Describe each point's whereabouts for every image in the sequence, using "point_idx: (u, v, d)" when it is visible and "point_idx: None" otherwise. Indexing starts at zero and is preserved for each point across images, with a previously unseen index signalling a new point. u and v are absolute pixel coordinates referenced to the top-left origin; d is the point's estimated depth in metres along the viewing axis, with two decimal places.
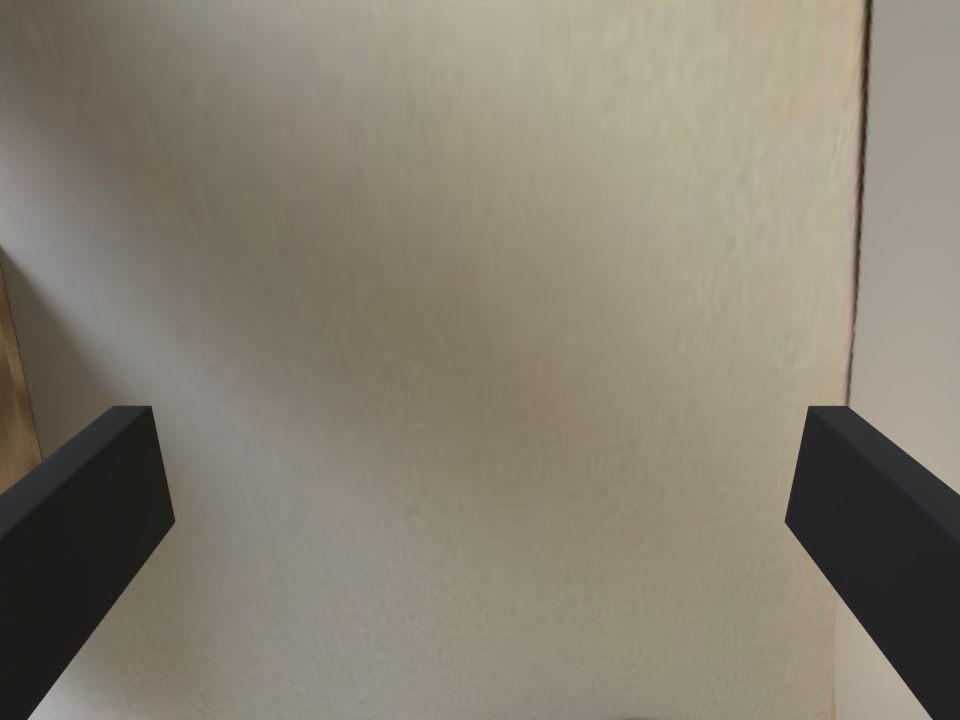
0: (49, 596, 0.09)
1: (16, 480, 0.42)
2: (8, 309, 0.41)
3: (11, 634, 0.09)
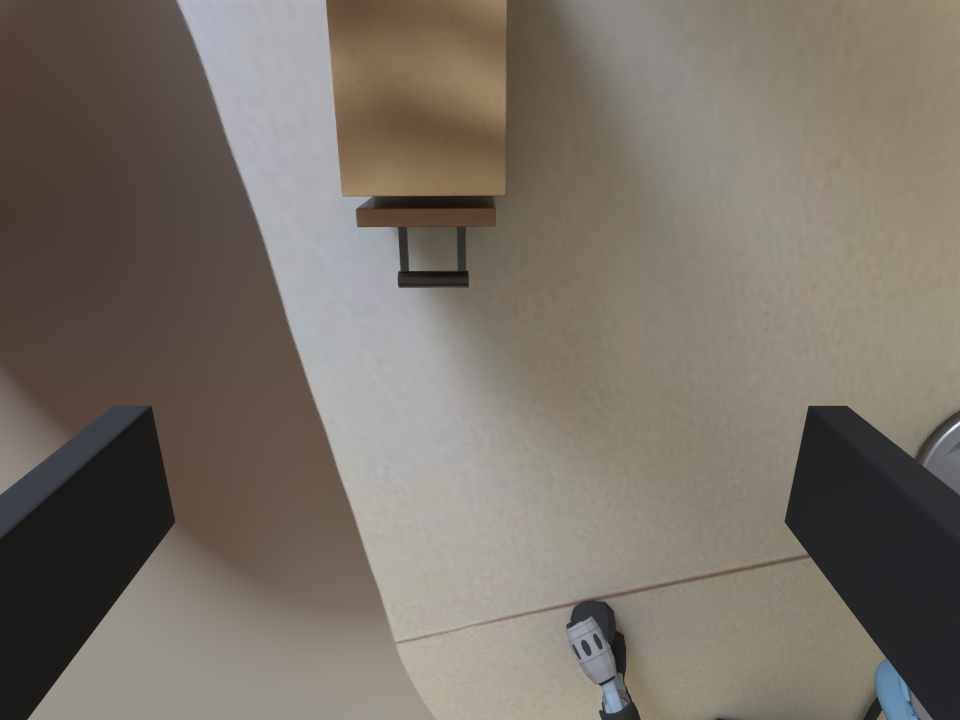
0: (49, 597, 0.09)
1: None
2: None
3: (11, 634, 0.09)
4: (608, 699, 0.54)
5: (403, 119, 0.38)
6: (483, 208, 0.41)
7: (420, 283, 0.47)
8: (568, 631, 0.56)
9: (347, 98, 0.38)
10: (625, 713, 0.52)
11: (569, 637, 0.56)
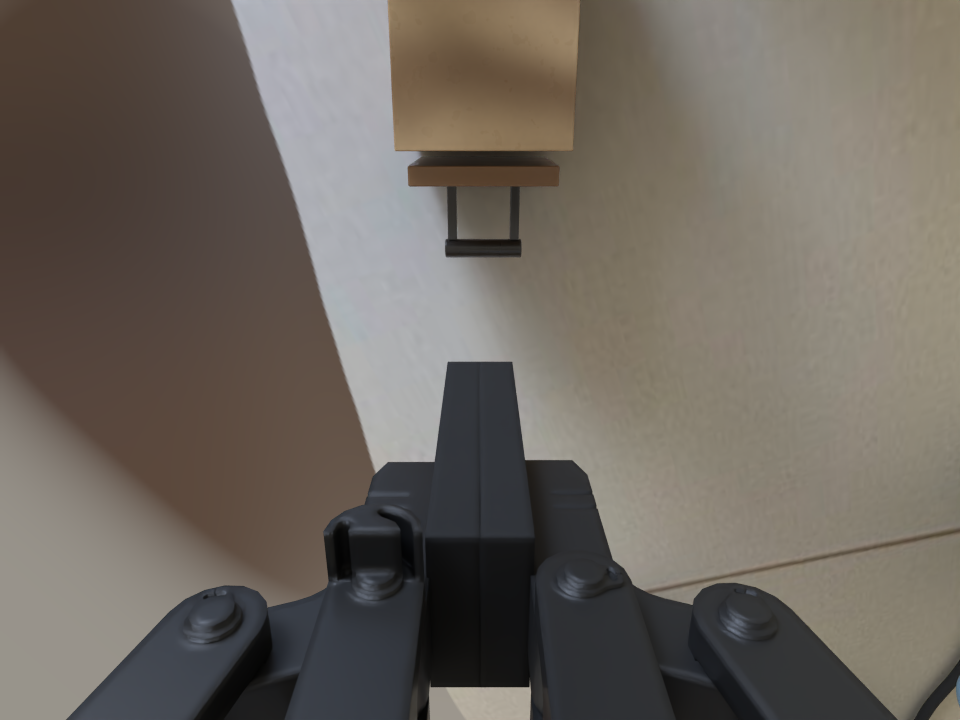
0: None
1: None
2: None
3: None
4: None
5: (464, 64, 0.35)
6: (546, 166, 0.38)
7: (469, 252, 0.44)
8: None
9: (404, 40, 0.35)
10: None
11: None
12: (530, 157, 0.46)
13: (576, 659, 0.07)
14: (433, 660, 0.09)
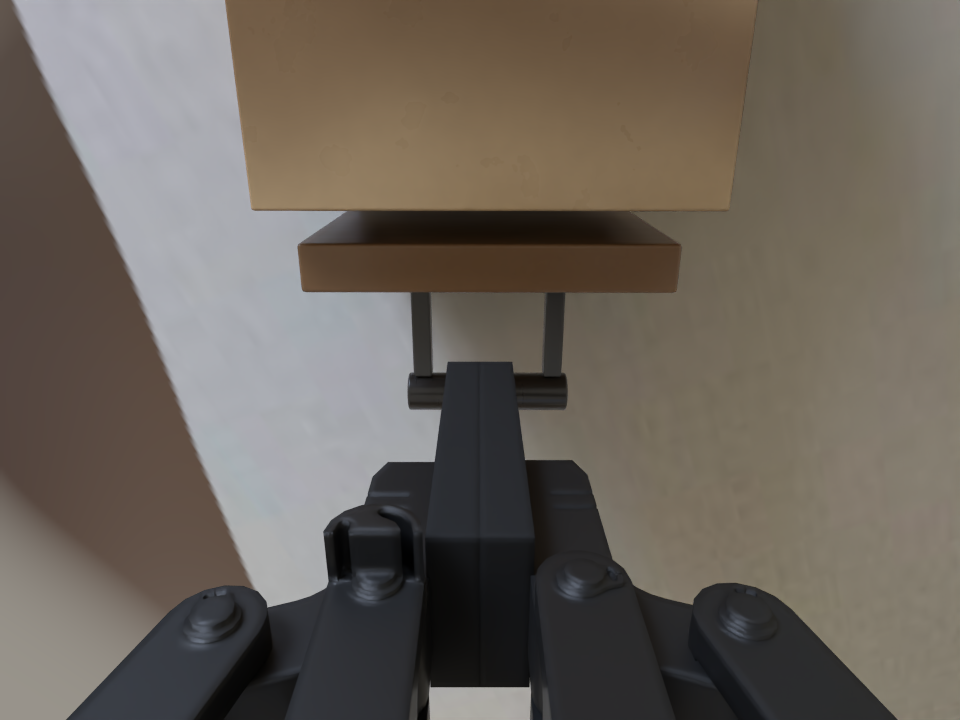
0: None
1: None
2: None
3: None
4: None
5: None
6: (647, 245, 0.15)
7: None
8: None
9: None
10: None
11: None
12: None
13: (576, 659, 0.07)
14: (433, 660, 0.09)
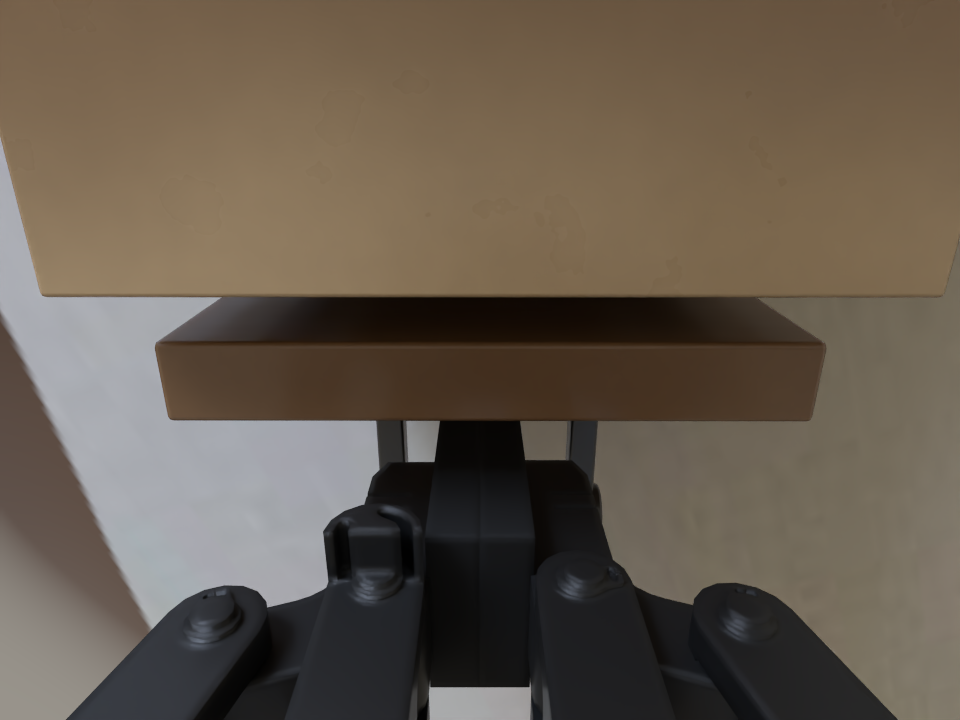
0: None
1: None
2: None
3: None
4: None
5: None
6: (766, 343, 0.09)
7: None
8: None
9: None
10: None
11: None
12: None
13: (576, 659, 0.07)
14: (433, 660, 0.09)
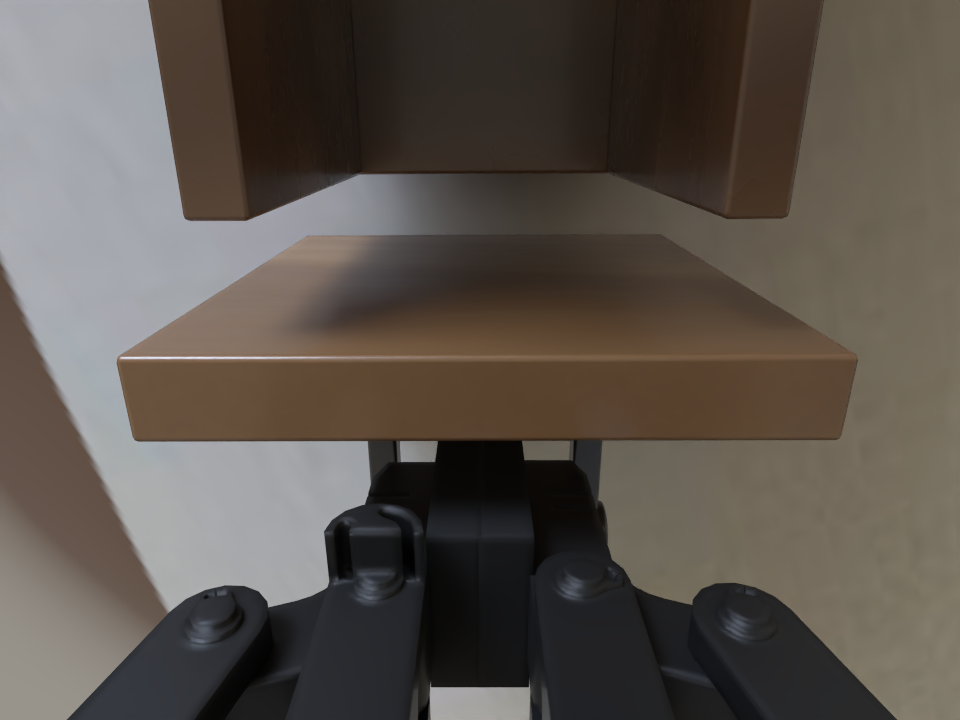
0: None
1: None
2: None
3: None
4: None
5: None
6: (790, 354, 0.08)
7: None
8: None
9: None
10: None
11: None
12: (623, 239, 0.15)
13: (575, 659, 0.07)
14: (433, 660, 0.09)
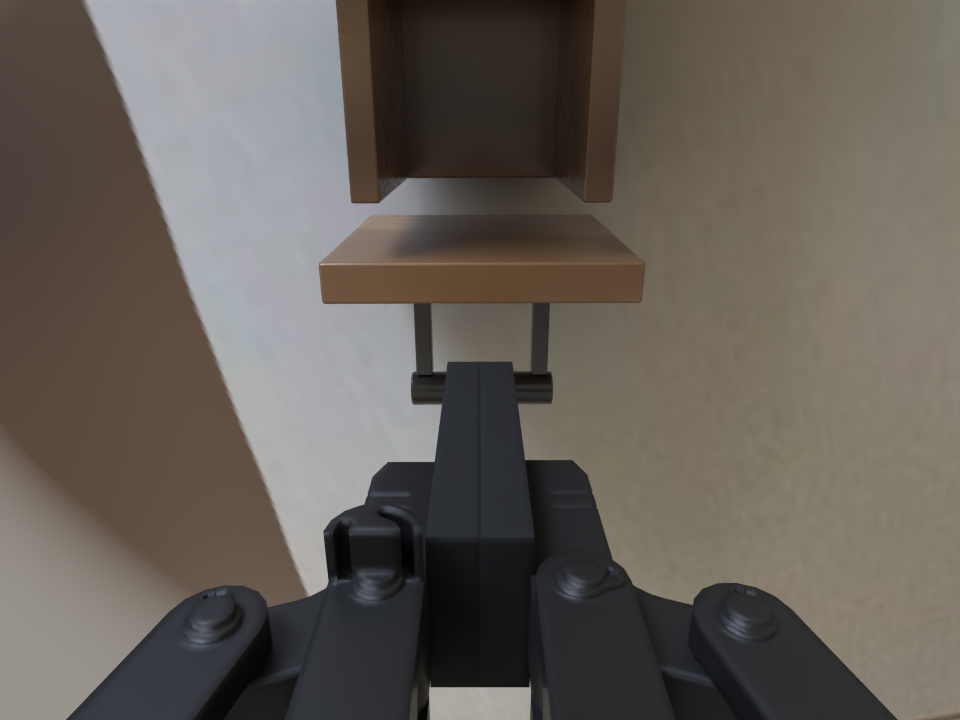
0: None
1: None
2: None
3: None
4: None
5: None
6: (616, 262, 0.18)
7: None
8: None
9: None
10: None
11: None
12: (566, 217, 0.25)
13: (576, 659, 0.07)
14: (433, 660, 0.09)
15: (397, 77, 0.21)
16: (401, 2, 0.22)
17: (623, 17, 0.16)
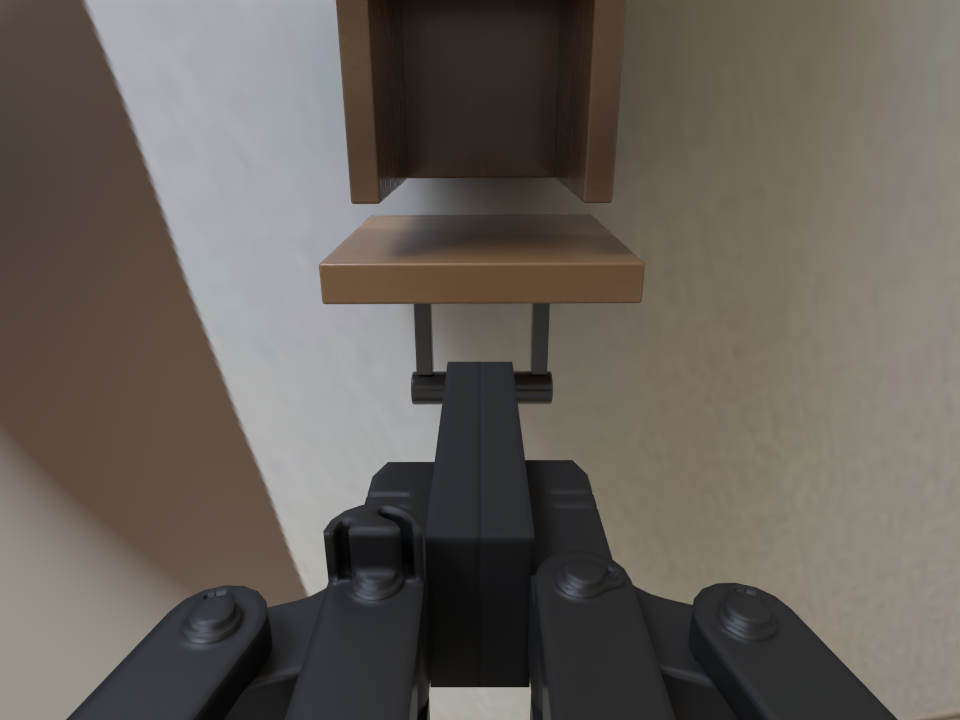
0: None
1: None
2: None
3: None
4: None
5: None
6: (616, 262, 0.18)
7: None
8: None
9: None
10: None
11: None
12: (566, 217, 0.25)
13: (576, 659, 0.07)
14: (433, 660, 0.09)
15: (397, 77, 0.21)
16: (401, 2, 0.22)
17: (623, 18, 0.16)
